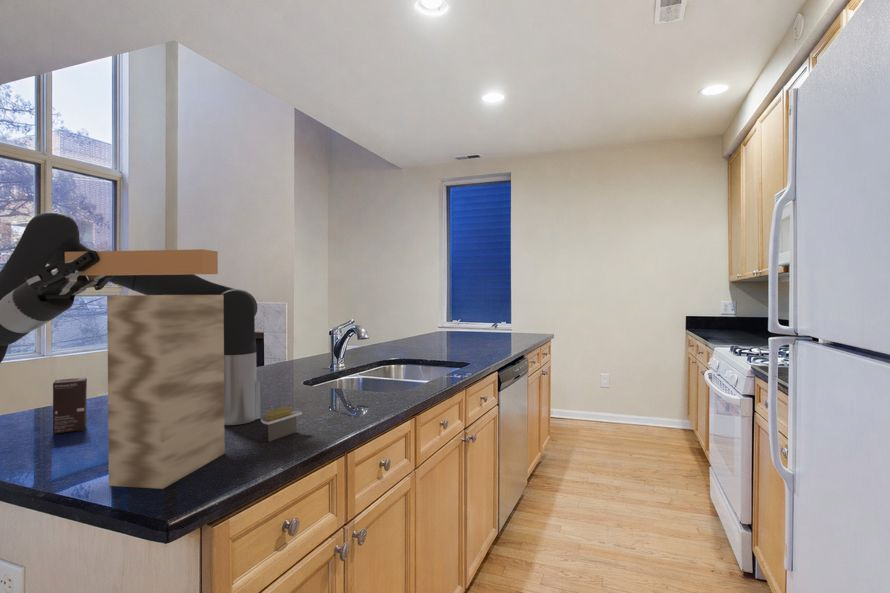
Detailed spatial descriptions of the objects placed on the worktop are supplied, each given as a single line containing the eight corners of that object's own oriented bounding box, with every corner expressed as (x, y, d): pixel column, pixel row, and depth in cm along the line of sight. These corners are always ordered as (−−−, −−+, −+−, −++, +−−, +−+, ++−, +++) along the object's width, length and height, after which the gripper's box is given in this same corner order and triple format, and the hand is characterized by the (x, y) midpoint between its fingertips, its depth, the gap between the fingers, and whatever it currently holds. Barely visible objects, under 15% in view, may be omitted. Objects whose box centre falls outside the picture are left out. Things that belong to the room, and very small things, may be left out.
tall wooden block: (108, 485, 78) (107, 295, 78) (179, 451, 95) (177, 295, 95) (163, 488, 77) (161, 295, 76) (224, 453, 94) (223, 294, 93)
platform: (227, 445, 100) (227, 415, 100) (291, 424, 116) (291, 398, 116) (266, 454, 94) (266, 422, 94) (328, 431, 110) (327, 403, 110)
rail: (65, 274, 81) (64, 251, 81) (85, 275, 85) (85, 253, 85) (203, 273, 78) (202, 249, 78) (217, 274, 82) (217, 251, 82)
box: (52, 435, 106) (52, 382, 106) (55, 430, 110) (54, 379, 110) (85, 430, 110) (85, 379, 110) (87, 426, 113) (87, 377, 113)
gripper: (-19, 285, 77) (60, 232, 75) (62, 286, 91) (130, 241, 89) (1, 324, 77) (81, 272, 75) (79, 319, 91) (148, 275, 89)
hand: (107, 255), depth 82 cm, fingers closed on rail, 4 cm apart
